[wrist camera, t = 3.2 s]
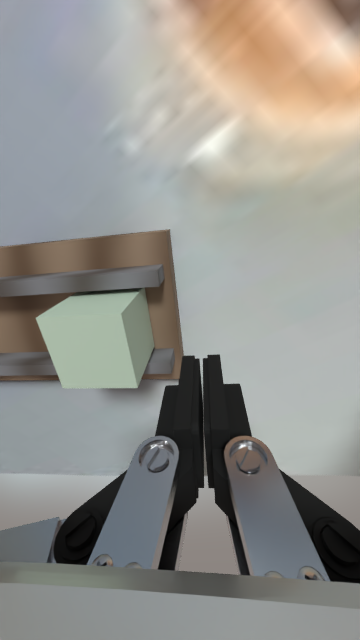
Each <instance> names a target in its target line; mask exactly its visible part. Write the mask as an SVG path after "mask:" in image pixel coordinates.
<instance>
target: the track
mask: <svg viewBox="0 0 360 640" xmlns="http://www.w3.org/2000/svg"><path fill="white" fill-rule="evenodd" d="M130 288H145V292H146V298H147V304H148V310H149V316H150V322H151V328H152V334H153V340H154V348H153V351H152V353H151V356H150V358H149V361H148V363H147V366H146V368H145V371H144V373H143V376H142V378H141V379H179V378H180V370H181V362H182V356H184V354H183V345H182V336H181V327H180V318H179V309H178V300H177V291H176V282H175V273H174V265H173V256H172V247H171V238H170V229H169V230H160V231H150V232H140V233H130V234H120V235H110V236H100V237H91V238H81V239H71V240H61V241H51V242H41V243H31V244H21V245H12V246H2V247H0V380H60V379H59V377H58V374H57V372H56V369H55V367H54V364H53V361H52V359H51V356H50V354H49V351H48V349H47V346H46V343H45V341H44V338H43V336H42V333H41V331H40V328H39V325H38V323H37V320H36V317H38V316H39V315H41V314H43V313H44V312H46V311H47V310H49V309H51V308H52V307H54V306H55V305H57V304H59V303H60V302H62V301H63V300H65V299H67V298H68V297H70V296H71V295H73V294H75V293H76V292H85V291H100V290H115V289H130Z"/></svg>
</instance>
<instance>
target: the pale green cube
mask: <svg viewBox="0 0 360 640" xmlns="http://www.w3.org/2000/svg"><path fill="white" fill-rule="evenodd" d="M36 320H37V323H38V325H39V328H40V331H41V333H42V336H43V338H44V341H45V343H46V346H47V349H48V351H49V354H50V356H51V359H52V361H53V364H54V367H55V369H56V372H57V374H58V377H59V379H60V382H61V385H62V387H63V388H138V386H139V383H140V381H141V378H142V376H143V373H144V371H145V368H146V366H147V363H148V361H149V358H150V356H151V353H152V351H153V348H154V340H153V334H152V328H151V322H150V316H149V310H148V304H147V298H146V292H145V288H130V289H115V290H100V291H85V292H76V293H75V294H73V295H71V296H70V297H68V298H67V299H65V300H63V301H62V302H60V303H59V304H57V305H55V306H54V307H52V308H51V309H49V310H47V311H46V312H44V313H43V314H41V315H39V316H38V317H36Z"/></svg>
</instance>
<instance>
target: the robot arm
mask: <svg viewBox="0 0 360 640" xmlns="http://www.w3.org/2000/svg"><path fill="white" fill-rule="evenodd" d="M203 403H204V436H203ZM204 437H205V449H206V462H207V474H208V485H209V488H214V490H215V503H216V504H217V505H218V506H219V507H220V509H221V510H222V511H223V512H224V513H225V514H226V517H227V523H228V528H229V533H230V538H231V542H232V547H233V552H234V556H235V561H236V566H237V571H238V575H231V574H217V573H202V572H187V571H178V570H179V564H180V558H181V552H182V547H183V541H184V535H185V529H186V523H187V516H188V511H189V510H190V509H191V507H192V506H193V505H194V504H195V503H196V498H198V488H204ZM0 640H360V531H359V530H358V529H357V528H356V527H355V526H354V525H353V524H352V523H350V522H349V521H348V520H346V519H345V518H344V517H342V516H341V515H340V514H338V513H337V512H336V511H334V510H333V509H332V508H330V507H329V506H328V505H326V504H325V503H324V502H322V501H321V500H320V499H318V498H317V497H316V496H314V495H313V494H312V493H310V492H309V491H308V490H306V489H305V488H304V487H302V486H301V485H300V484H298V483H297V482H296V481H294V480H293V479H292V478H290V477H289V476H288V475H286V474H285V473H284V472H282V471H281V470H280V469H279V468H278V466H277V464H276V462H275V460H274V457H273V455H272V453H271V451H270V450H269V448H268V447H267V446H266V445H265V444H264V443H263V442H262V441H260V440H258V439H256V438H254V437H252V435H251V430H250V426H249V422H248V417H247V413H246V408H245V404H244V399H243V395H242V391H241V386H240V384H223V377H222V369H221V361H220V355H208V358H203V399H202V386H201V374H200V361H199V359H195V356H182V362H181V370H180V378H179V385H172V386H166V387H165V391H164V396H163V400H162V405H161V410H160V415H159V420H158V425H157V430H156V435H155V437H151V438H149V439H147V440H145V441H144V442H143V443H142V444H141V445H140V446H139V447H138V449H137V450H136V452H135V454H134V457H133V459H132V461H131V463H130V466H129V468H128V470H126V471H125V472H124V473H123V474H121V475H120V476H119V477H118V478H116V479H115V480H114V481H113V482H111V483H110V484H109V485H107V486H106V487H105V488H104V489H102V490H101V491H100V492H98V493H97V494H96V495H95V496H93V497H92V498H91V499H89V500H88V501H87V502H86V503H84V504H83V505H82V506H80V507H79V508H78V509H77V510H75V511H74V512H73V513H72V514H71V515H70V516H69V517H68V518H67V519H63V520H60V518H59V517H56V518H52V519H48V520H43V521H39V522H36V523H31V524H27V525H22V526H18V527H14V528H10V529H5V530H1V531H0Z"/></svg>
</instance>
